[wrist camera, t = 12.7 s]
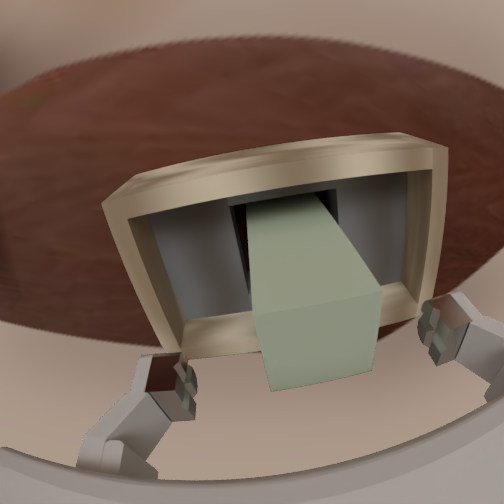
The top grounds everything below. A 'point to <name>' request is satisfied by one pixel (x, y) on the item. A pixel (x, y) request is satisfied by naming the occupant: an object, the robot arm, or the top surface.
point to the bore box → (267, 187)
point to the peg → (309, 294)
